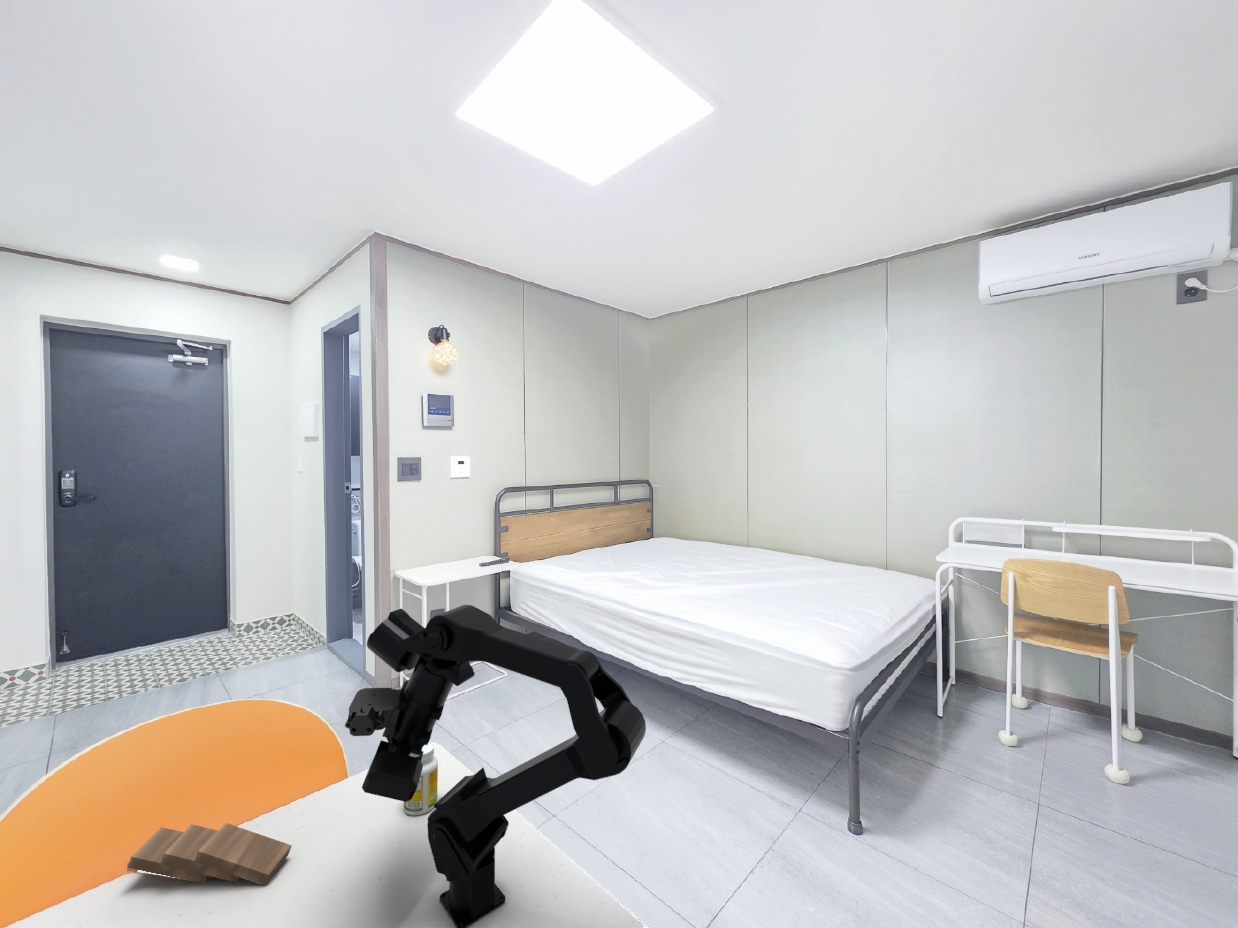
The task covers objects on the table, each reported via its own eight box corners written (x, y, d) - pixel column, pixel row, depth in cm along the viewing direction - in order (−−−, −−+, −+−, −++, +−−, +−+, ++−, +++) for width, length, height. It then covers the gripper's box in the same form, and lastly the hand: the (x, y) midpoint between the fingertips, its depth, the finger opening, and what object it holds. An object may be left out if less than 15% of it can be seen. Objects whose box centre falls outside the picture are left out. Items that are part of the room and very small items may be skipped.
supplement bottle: (408, 821, 80) (408, 761, 81) (399, 803, 85) (400, 746, 85) (441, 807, 84) (442, 750, 84) (432, 791, 88) (432, 736, 88)
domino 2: (261, 841, 73) (191, 823, 72) (240, 871, 68) (164, 853, 67) (258, 851, 73) (187, 833, 72) (236, 882, 68) (160, 864, 67)
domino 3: (291, 845, 73) (226, 822, 72) (268, 874, 68) (198, 850, 67) (288, 855, 73) (222, 832, 72) (264, 885, 68) (194, 861, 67)
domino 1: (232, 842, 73) (161, 826, 72) (208, 872, 68) (131, 856, 67) (229, 852, 73) (157, 837, 72) (204, 883, 68) (127, 867, 67)
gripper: (388, 634, 75) (351, 719, 77) (342, 723, 57) (295, 830, 59) (459, 656, 78) (421, 737, 80) (436, 748, 60) (388, 849, 62)
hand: (385, 781), depth 70 cm, fingers closed
